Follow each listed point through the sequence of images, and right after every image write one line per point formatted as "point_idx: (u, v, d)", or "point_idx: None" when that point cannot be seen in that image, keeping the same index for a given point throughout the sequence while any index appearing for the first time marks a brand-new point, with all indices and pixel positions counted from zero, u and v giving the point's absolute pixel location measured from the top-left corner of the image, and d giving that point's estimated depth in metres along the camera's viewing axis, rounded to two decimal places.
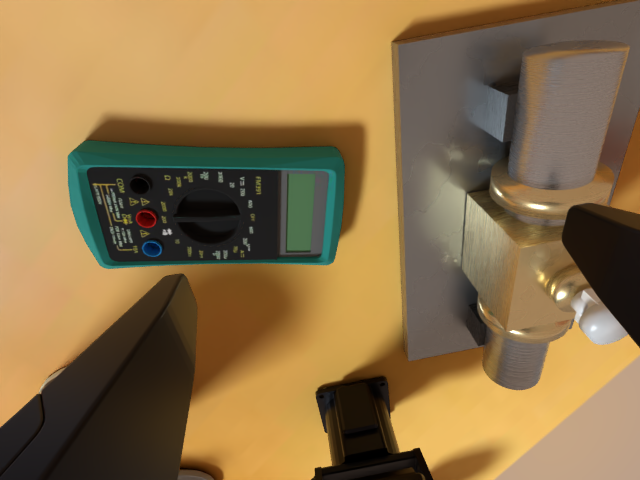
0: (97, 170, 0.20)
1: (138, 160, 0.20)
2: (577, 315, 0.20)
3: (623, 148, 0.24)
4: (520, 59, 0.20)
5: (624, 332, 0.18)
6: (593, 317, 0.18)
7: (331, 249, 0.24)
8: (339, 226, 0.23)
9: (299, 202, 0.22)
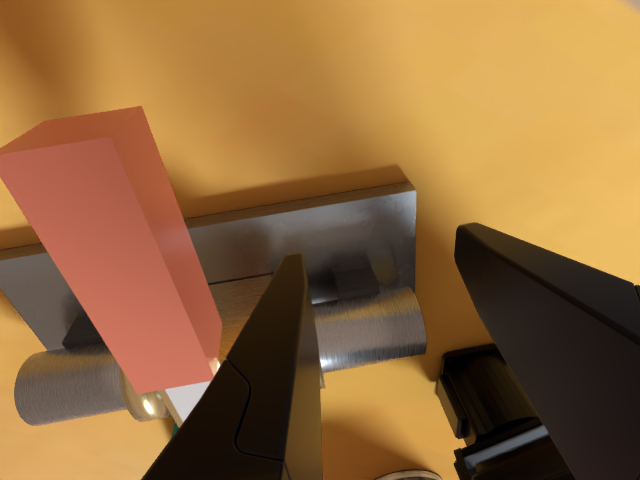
0: None
1: None
2: None
3: None
4: None
5: None
6: None
7: None
8: None
9: None
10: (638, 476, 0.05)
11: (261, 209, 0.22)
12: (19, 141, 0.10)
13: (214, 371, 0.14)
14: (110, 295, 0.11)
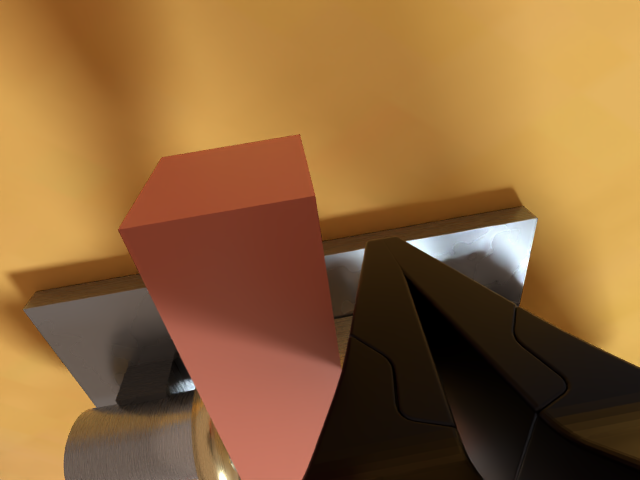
0: None
1: None
2: None
3: None
4: None
5: None
6: None
7: None
8: None
9: None
10: None
11: (351, 241, 0.19)
12: (152, 197, 0.06)
13: None
14: (254, 406, 0.08)
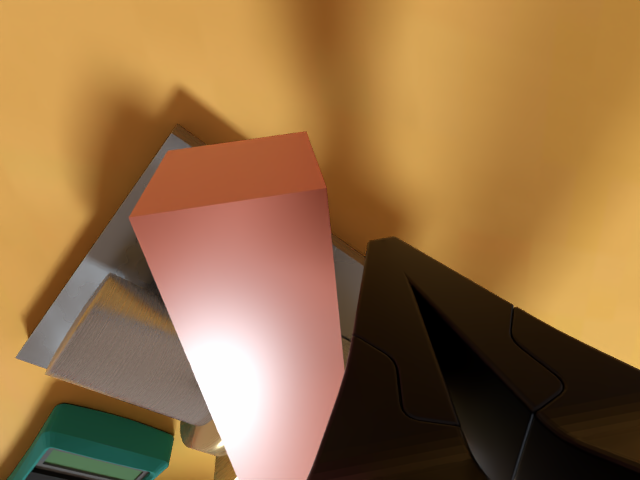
0: None
1: None
2: None
3: None
4: None
5: None
6: None
7: (144, 466, 0.23)
8: (123, 452, 0.22)
9: (81, 463, 0.23)
10: None
11: None
12: (160, 188, 0.06)
13: None
14: (255, 402, 0.08)
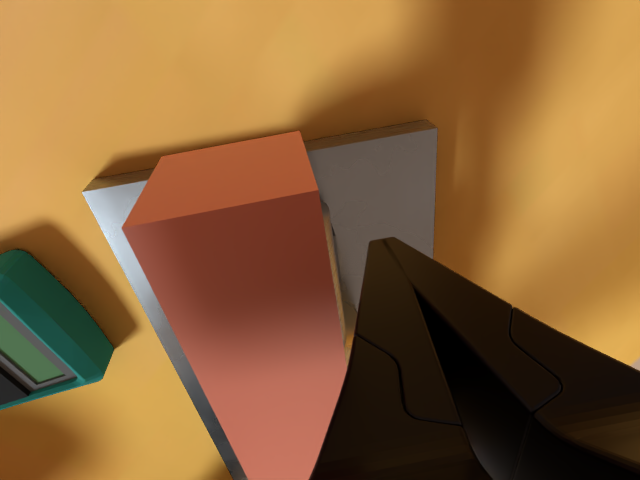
0: None
1: None
2: None
3: None
4: None
5: None
6: None
7: (80, 368, 0.18)
8: (69, 341, 0.18)
9: (0, 332, 0.17)
10: None
11: None
12: (154, 195, 0.06)
13: None
14: (259, 403, 0.08)
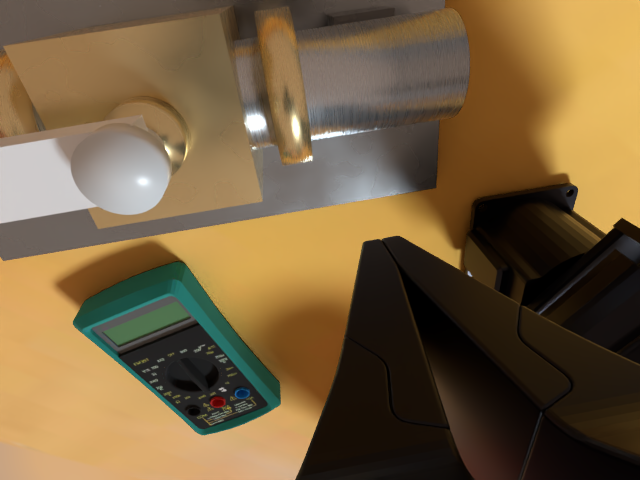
0: (199, 426, 0.30)
1: None
2: (146, 129, 0.11)
3: None
4: None
5: (84, 162, 0.09)
6: (166, 186, 0.10)
7: (156, 294, 0.22)
8: (129, 296, 0.22)
9: (136, 328, 0.24)
10: None
11: None
12: None
13: None
14: None
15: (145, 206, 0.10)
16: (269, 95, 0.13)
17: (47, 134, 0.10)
